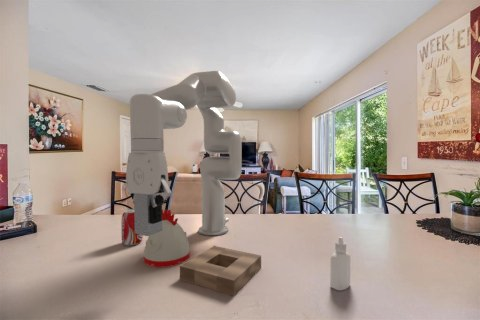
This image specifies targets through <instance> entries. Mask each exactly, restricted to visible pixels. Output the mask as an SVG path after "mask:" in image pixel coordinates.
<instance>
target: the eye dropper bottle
mask: <svg viewBox="0 0 480 320" xmlns="http://www.w3.org/2000/svg"><path fill="white" fill-rule="evenodd" d="M343 239H344V238H343V237H342V236H339V237H338V241H335V243H334V244H335V245H334V246H335V247H334V248H335V250H334V251H333V253H332V255H331V257H330V278H329V279H330V284H329V285H330V288H332V289H334V290H335V291H344V290H347V289H348V288H349V287H350V286H351V254H350V253H349V252H347V243H346V242H345V241H344V240H343Z"/></svg>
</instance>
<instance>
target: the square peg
mask: <svg viewBox="0 0 480 320" xmlns="http://www.w3.org/2000/svg"><path fill="white" fill-rule="evenodd" d="M156 193H158V192H156ZM157 198H158V195H157V196H156V200H157ZM133 205H134V207H133V209H134V216H135V233H136V234H140V235H143V236H145V237H149V236H150V235H153V234H155V233H158V232H160V231H162V221H160V222H157V223H154V224H151V223H150V207H152V203H151V198H150V195H143V194H134V204H133Z"/></svg>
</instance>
